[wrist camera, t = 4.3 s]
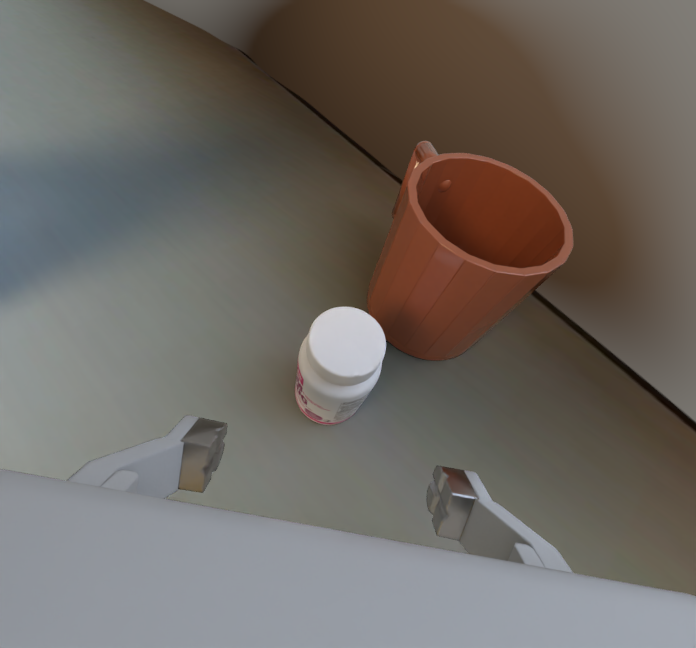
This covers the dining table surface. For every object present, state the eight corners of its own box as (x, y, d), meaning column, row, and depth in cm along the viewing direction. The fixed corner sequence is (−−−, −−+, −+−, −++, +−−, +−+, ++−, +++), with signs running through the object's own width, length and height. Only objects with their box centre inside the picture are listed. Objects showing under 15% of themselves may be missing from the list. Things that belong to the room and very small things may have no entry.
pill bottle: (281, 384, 24) (281, 324, 16) (335, 350, 26) (356, 285, 18) (319, 441, 22) (338, 403, 15) (373, 401, 24) (413, 351, 17)
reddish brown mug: (500, 348, 28) (607, 263, 19) (390, 372, 25) (453, 286, 16) (433, 226, 35) (490, 118, 25) (339, 233, 32) (364, 115, 23)
